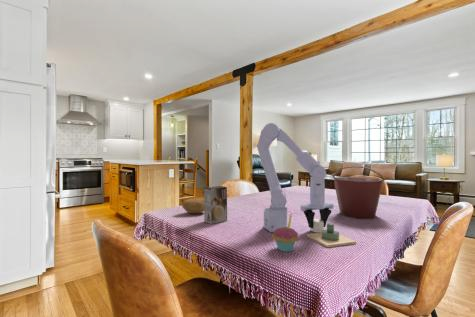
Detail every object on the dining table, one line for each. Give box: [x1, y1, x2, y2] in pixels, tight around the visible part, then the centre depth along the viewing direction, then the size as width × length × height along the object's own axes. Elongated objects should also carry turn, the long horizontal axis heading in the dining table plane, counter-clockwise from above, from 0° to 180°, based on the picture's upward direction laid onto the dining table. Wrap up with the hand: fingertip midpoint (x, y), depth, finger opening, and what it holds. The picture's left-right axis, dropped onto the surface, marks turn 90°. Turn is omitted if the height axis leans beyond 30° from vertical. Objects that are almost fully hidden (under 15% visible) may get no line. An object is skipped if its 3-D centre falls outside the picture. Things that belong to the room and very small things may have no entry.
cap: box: [309, 218, 325, 233], centre depth 102 cm, size 5×5×4 cm
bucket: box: [331, 165, 386, 220], centre depth 128 cm, size 24×22×25 cm
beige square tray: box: [306, 222, 357, 249], centre depth 91 cm, size 12×12×6 cm
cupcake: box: [271, 213, 299, 253], centre depth 82 cm, size 9×8×12 cm
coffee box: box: [203, 185, 228, 225], centre depth 116 cm, size 9×6×16 cm
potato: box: [181, 197, 204, 215], centre depth 131 cm, size 10×14×8 cm
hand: (317, 227), depth 102 cm, fingers open, 5 cm apart
